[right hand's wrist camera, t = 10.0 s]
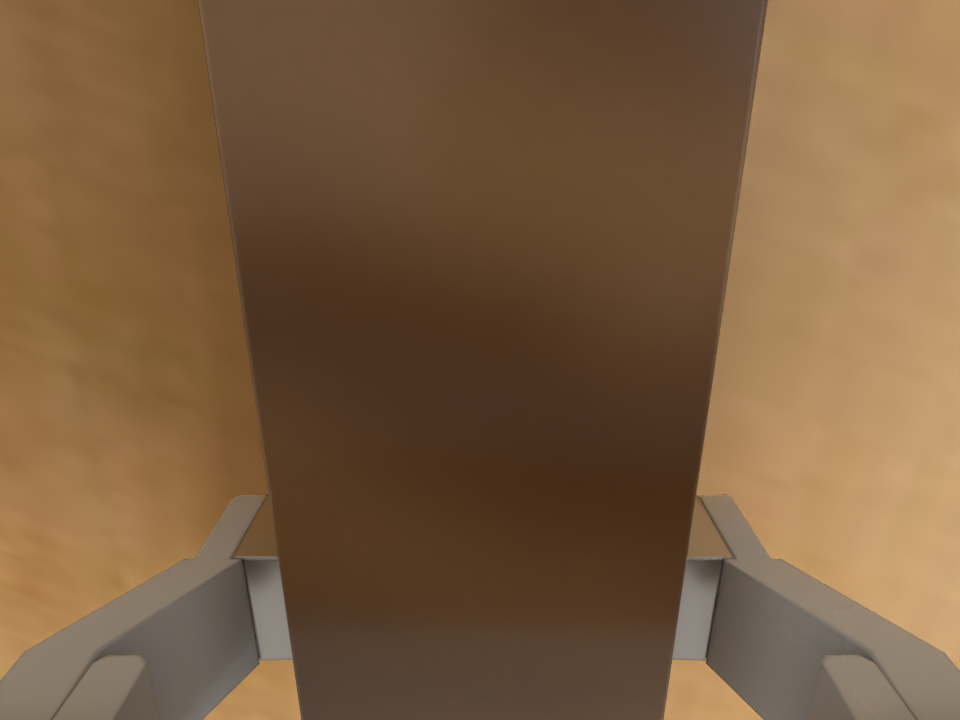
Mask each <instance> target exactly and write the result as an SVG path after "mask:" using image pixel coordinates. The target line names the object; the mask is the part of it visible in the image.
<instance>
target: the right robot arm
mask: <svg viewBox="0 0 960 720" xmlns="http://www.w3.org/2000/svg"><path fill="white" fill-rule="evenodd" d="M260 660H293V657H292V650H291V643H290V636H289V630H288V623H287V616H286V609H285V602H284V595H283V588H282V581H281V574H280V567H279V560H278V553H277V546H276V539H275V532H274V526H273V519H272V512H271V505H270V498H269V496H268V495H238V496H236V497H234V498H233V499H232V500H231V502H230V503H229V505H228V506H227V508H226V510H225V511H224V513H223V514H222V516H221V518H220V519H219V521H218V522H217V524H216V526H215V527H214V529H213V530H212V532H211V534H210V535H209V537H208V538H207V540H206V541H205V543H204V545H203V546H202V548H201V549H200V551H199V553H198V554H197V556H196V557H195V559H184V560H182V561H181V562H179V563H177V564H175V565H174V566H172V567H170V568H168V569H167V570H165V571H163V572H162V573H160V574H158V575H156V576H155V577H153V578H151V579H149V580H148V581H146V582H144V583H142V584H141V585H139V586H137V587H136V588H134V589H132V590H130V591H129V592H127V593H125V594H123V595H122V596H120V597H118V598H117V599H115V600H113V601H111V602H110V603H108V604H106V605H104V606H103V607H101V608H99V609H98V610H96V611H94V612H92V613H91V614H89V615H87V616H85V617H84V618H82V619H80V620H78V621H77V622H75V623H73V624H72V625H70V626H68V627H66V628H65V629H63V630H61V631H59V632H58V633H56V634H54V635H53V636H51V637H49V638H47V639H46V640H44V641H42V642H40V643H39V644H37V645H35V646H34V647H32V648H30V649H28V650H27V651H25V652H24V653H23V654H22V655H21V656H20V658H19V659H18V660H17V661H16V662H15V664H14V665H13V666H12V667H11V668H10V670H9V671H8V672H7V673H6V674H5V676H4V677H3V678H2V679H1V681H0V720H203V719H204V718H205V717H206V716H207V715H208V714H209V713H210V712H211V711H212V710H213V709H214V708H215V707H216V706H217V705H218V704H219V703H220V702H221V701H222V700H223V699H224V698H225V697H226V696H227V695H228V694H229V693H230V692H231V691H232V690H233V689H234V688H235V687H236V686H237V685H238V684H239V683H240V682H241V681H242V680H243V679H244V678H245V677H246V676H248V675H249V674H250V673H251V672H252V671H253V670H254V669H255V668H256V667H257V666H258V665H259V661H260ZM672 660H705V661H706V664H707V665H708V666H709V667H710V668H711V669H712V670H714V671H715V672H716V673H717V674H718V675H719V676H720V677H721V678H722V679H723V680H724V681H725V682H726V683H727V684H728V685H729V686H730V687H731V688H732V689H733V690H734V691H735V692H736V693H737V694H738V695H739V696H740V697H741V698H742V699H743V700H744V701H745V702H746V703H747V704H748V705H749V706H750V707H751V708H752V709H753V710H754V711H755V712H756V713H757V714H759V715H760V716H761V717H762V718H763V719H764V720H960V671H959V670H958V668H957V667H956V666H955V665H954V664H953V662H952V661H951V660H950V659H949V658H948V656H947V655H946V654H945V653H944V652H942V651H940V650H939V649H937V648H935V647H933V646H932V645H930V644H928V643H926V642H925V641H923V640H921V639H919V638H918V637H916V636H914V635H913V634H911V633H909V632H907V631H906V630H904V629H902V628H900V627H899V626H897V625H895V624H893V623H892V622H890V621H888V620H886V619H885V618H883V617H881V616H879V615H878V614H876V613H874V612H873V611H871V610H869V609H867V608H866V607H864V606H862V605H860V604H859V603H857V602H855V601H853V600H852V599H850V598H848V597H846V596H845V595H843V594H841V593H840V592H838V591H836V590H834V589H833V588H831V587H829V586H827V585H826V584H824V583H822V582H820V581H819V580H817V579H815V578H813V577H812V576H810V575H808V574H806V573H805V572H803V571H801V570H800V569H798V568H796V567H794V566H793V565H791V564H789V563H787V562H786V561H784V560H782V559H771V557H770V556H769V554H768V553H767V551H766V550H765V548H764V547H763V545H762V544H761V542H760V540H759V539H758V537H757V536H756V534H755V533H754V531H753V530H752V528H751V527H750V525H749V523H748V522H747V520H746V519H745V517H744V516H743V514H742V513H741V511H740V510H739V508H738V507H737V505H736V503H735V502H734V500H733V499H732V497H730V496H728V495H726V494H722V495H696V498H695V505H694V512H693V519H692V526H691V533H690V540H689V546H688V553H687V560H686V567H685V574H684V581H683V588H682V595H681V602H680V608H679V615H678V622H677V629H676V636H675V643H674V650H673V657H672Z"/></svg>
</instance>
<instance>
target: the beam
mask: <svg viewBox="0 0 960 720" xmlns="http://www.w3.org/2000/svg"><path fill="white" fill-rule="evenodd" d="M767 2H768V0H198V6H199V13H200V20H201V26H202V33H203V40H204V47H205V54H206V61H207V68H208V75H209V82H210V89H211V96H212V103H213V110H214V117H215V124H216V130H217V137H218V144H219V151H220V158H221V165H222V172H223V179H224V186H225V193H226V200H227V207H228V214H229V221H230V227H231V234H232V241H233V248H234V255H235V262H236V269H237V276H238V283H239V290H240V297H241V304H242V311H243V318H244V325H245V331H246V338H247V345H248V352H249V359H250V366H251V373H252V380H253V387H254V394H255V401H256V408H257V415H258V422H259V429H260V435H261V442H262V449H263V456H264V463H265V470H266V477H267V484H268V491H269V498H270V505H271V512H272V519H273V526H274V532H275V539H276V546H277V553H278V560H279V567H280V574H281V581H282V588H283V595H284V602H285V609H286V616H287V623H288V630H289V636H290V643H291V650H292V657H293V664H294V671H295V678H296V685H297V692H298V699H299V706H300V713H301V720H663V719H664V712H665V705H666V698H667V691H668V684H669V677H670V670H671V664H672V657H673V650H674V643H675V636H676V629H677V622H678V615H679V608H680V602H681V595H682V588H683V581H684V574H685V567H686V560H687V553H688V546H689V540H690V533H691V526H692V519H693V512H694V505H695V498H696V491H697V484H698V478H699V471H700V464H701V457H702V450H703V443H704V436H705V429H706V422H707V416H708V409H709V402H710V395H711V388H712V381H713V374H714V367H715V360H716V354H717V347H718V340H719V333H720V326H721V319H722V312H723V305H724V298H725V292H726V285H727V278H728V271H729V264H730V257H731V250H732V243H733V237H734V230H735V223H736V216H737V209H738V202H739V195H740V188H741V181H742V175H743V168H744V161H745V154H746V147H747V140H748V133H749V126H750V119H751V112H752V106H753V99H754V92H755V85H756V78H757V71H758V64H759V57H760V51H761V44H762V37H763V30H764V23H765V16H766V9H767Z"/></svg>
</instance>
